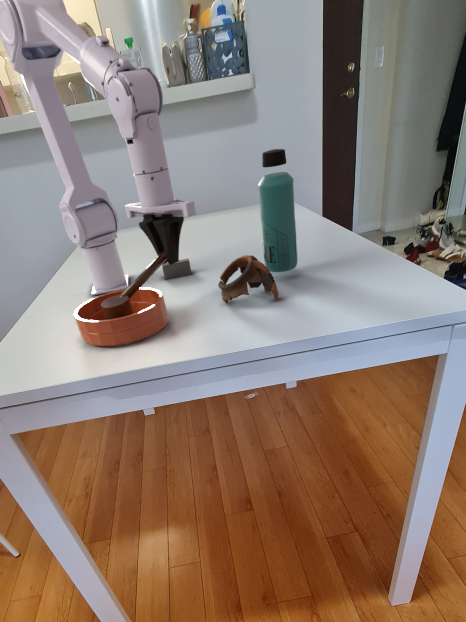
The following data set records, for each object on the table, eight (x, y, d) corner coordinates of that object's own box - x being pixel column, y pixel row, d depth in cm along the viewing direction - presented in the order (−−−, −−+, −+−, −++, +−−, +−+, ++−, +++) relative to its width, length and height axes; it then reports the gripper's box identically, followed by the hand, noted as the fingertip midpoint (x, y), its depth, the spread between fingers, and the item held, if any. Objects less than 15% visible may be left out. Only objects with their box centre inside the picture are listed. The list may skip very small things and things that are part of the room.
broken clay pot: (283, 308, 78) (256, 270, 72) (238, 334, 83) (210, 300, 77) (282, 268, 84) (257, 231, 79) (240, 295, 89) (214, 261, 84)
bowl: (87, 323, 85) (78, 298, 82) (167, 307, 85) (161, 282, 82) (79, 356, 73) (68, 328, 70) (171, 337, 74) (164, 309, 71)
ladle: (119, 324, 75) (106, 287, 71) (100, 320, 77) (86, 285, 73) (191, 277, 84) (183, 242, 80) (172, 275, 87) (163, 242, 83)
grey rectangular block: (164, 277, 100) (161, 263, 99) (191, 271, 101) (188, 258, 99) (164, 279, 99) (161, 265, 97) (191, 274, 99) (189, 260, 97)
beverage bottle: (304, 270, 90) (300, 144, 77) (288, 281, 86) (281, 151, 73) (275, 269, 93) (266, 147, 80) (259, 280, 90) (247, 154, 76)
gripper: (200, 163, 72) (214, 257, 81) (136, 169, 79) (156, 254, 88) (171, 172, 68) (189, 269, 77) (107, 177, 75) (130, 265, 84)
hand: (170, 262), depth 82 cm, fingers closed on ladle
